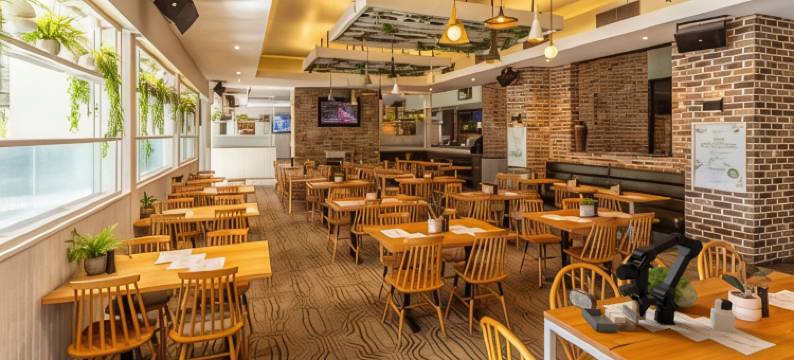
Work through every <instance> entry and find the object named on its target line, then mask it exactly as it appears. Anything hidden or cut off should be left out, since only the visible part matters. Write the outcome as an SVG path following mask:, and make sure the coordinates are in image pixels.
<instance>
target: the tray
mask: <svg viewBox="0 0 794 360" xmlns="http://www.w3.org/2000/svg"><path fill="white" fill-rule="evenodd" d="M581 316H582V318H583V319H584V320H585V321H586V322H587V323H588V324H589V326H591V328H592V329H594V331H595V332H596V333H598V332H599V333H617V324H616V323H608V322H607V321H606V320H605V319H604V318H603V315H602V308H598V307H596V308H582V309H581Z"/></svg>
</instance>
